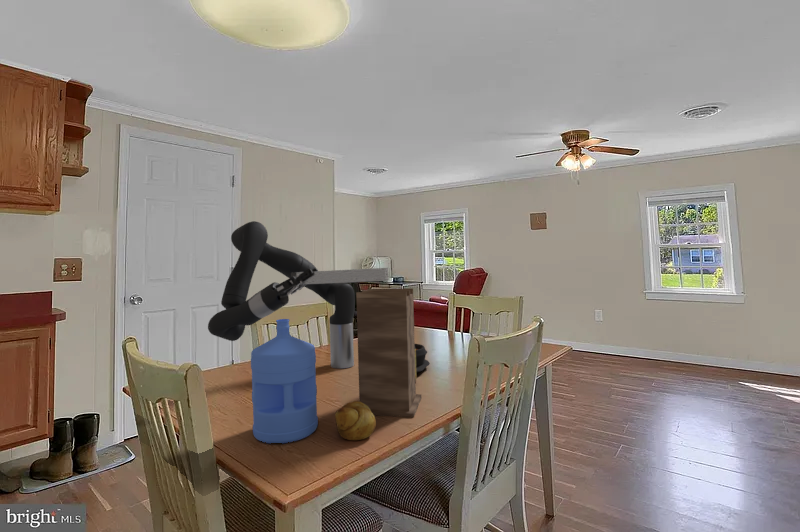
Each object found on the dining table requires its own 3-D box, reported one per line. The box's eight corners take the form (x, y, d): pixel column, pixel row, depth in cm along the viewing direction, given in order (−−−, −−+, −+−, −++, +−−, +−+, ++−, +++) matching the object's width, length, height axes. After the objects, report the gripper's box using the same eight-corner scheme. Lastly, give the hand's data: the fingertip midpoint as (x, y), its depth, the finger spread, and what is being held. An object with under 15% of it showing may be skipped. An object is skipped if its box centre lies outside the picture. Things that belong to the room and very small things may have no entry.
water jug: (251, 425, 104) (247, 318, 104) (311, 414, 111) (308, 313, 110) (255, 451, 90) (251, 327, 90) (324, 437, 96) (320, 321, 96)
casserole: (381, 361, 167) (381, 341, 166) (426, 359, 167) (425, 339, 167) (381, 379, 142) (380, 355, 142) (433, 377, 142) (433, 353, 142)
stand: (367, 395, 125) (364, 288, 124) (421, 397, 122) (418, 287, 121) (352, 414, 110) (349, 292, 109) (413, 417, 107) (410, 292, 106)
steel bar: (297, 283, 119) (296, 272, 119) (388, 279, 114) (387, 267, 114) (291, 284, 115) (290, 272, 115) (385, 280, 110) (384, 268, 110)
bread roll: (338, 422, 105) (337, 392, 105) (375, 420, 106) (374, 390, 106) (334, 445, 92) (333, 411, 92) (377, 442, 93) (376, 408, 93)
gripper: (249, 291, 112) (297, 260, 109) (274, 287, 126) (318, 259, 123) (262, 314, 112) (311, 284, 109) (286, 308, 126) (330, 280, 123)
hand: (314, 271), depth 116 cm, fingers closed on steel bar, 3 cm apart
